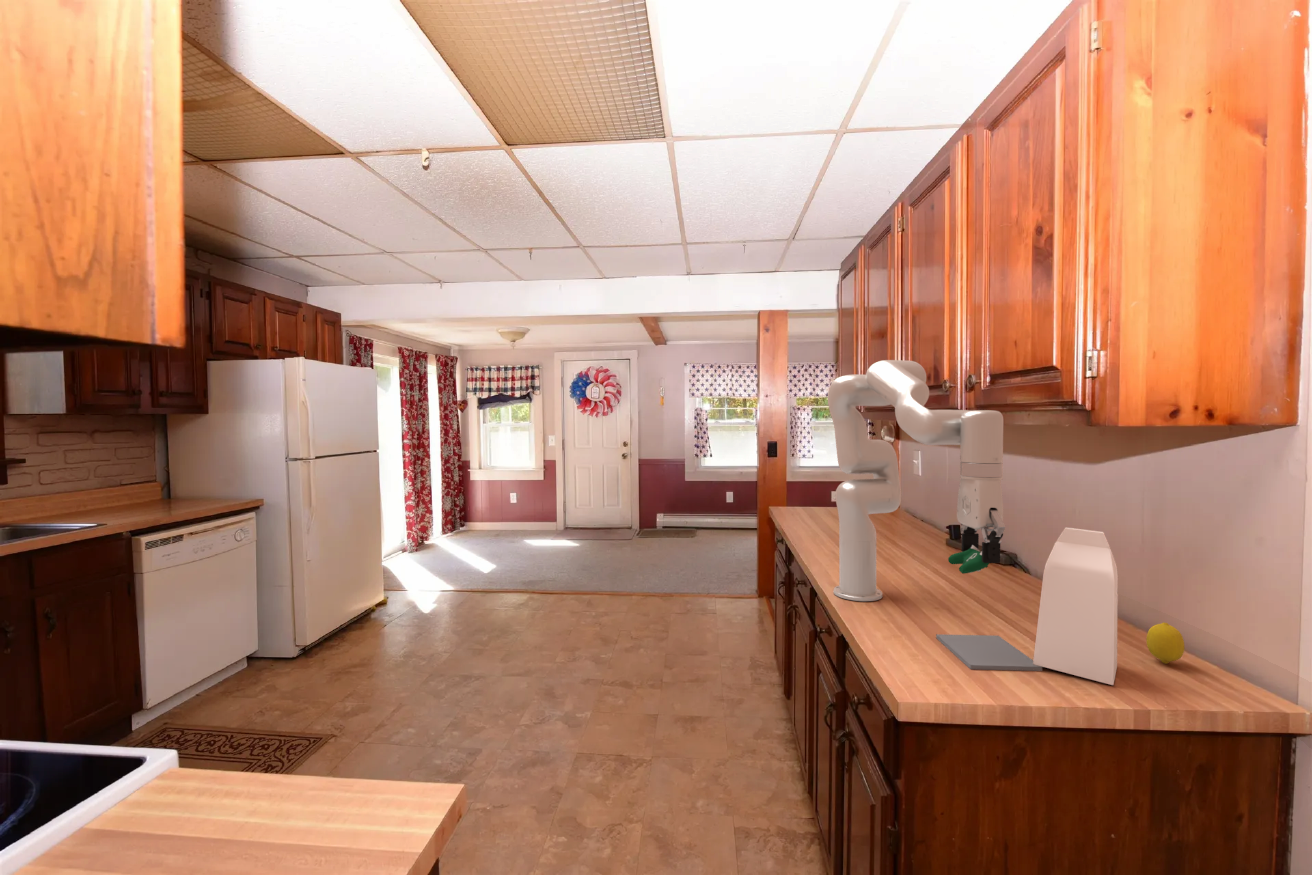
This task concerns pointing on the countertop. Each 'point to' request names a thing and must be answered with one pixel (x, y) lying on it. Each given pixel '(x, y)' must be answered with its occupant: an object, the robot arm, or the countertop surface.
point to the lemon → (1165, 642)
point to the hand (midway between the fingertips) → (980, 556)
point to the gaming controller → (968, 560)
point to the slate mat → (987, 652)
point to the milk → (1079, 607)
